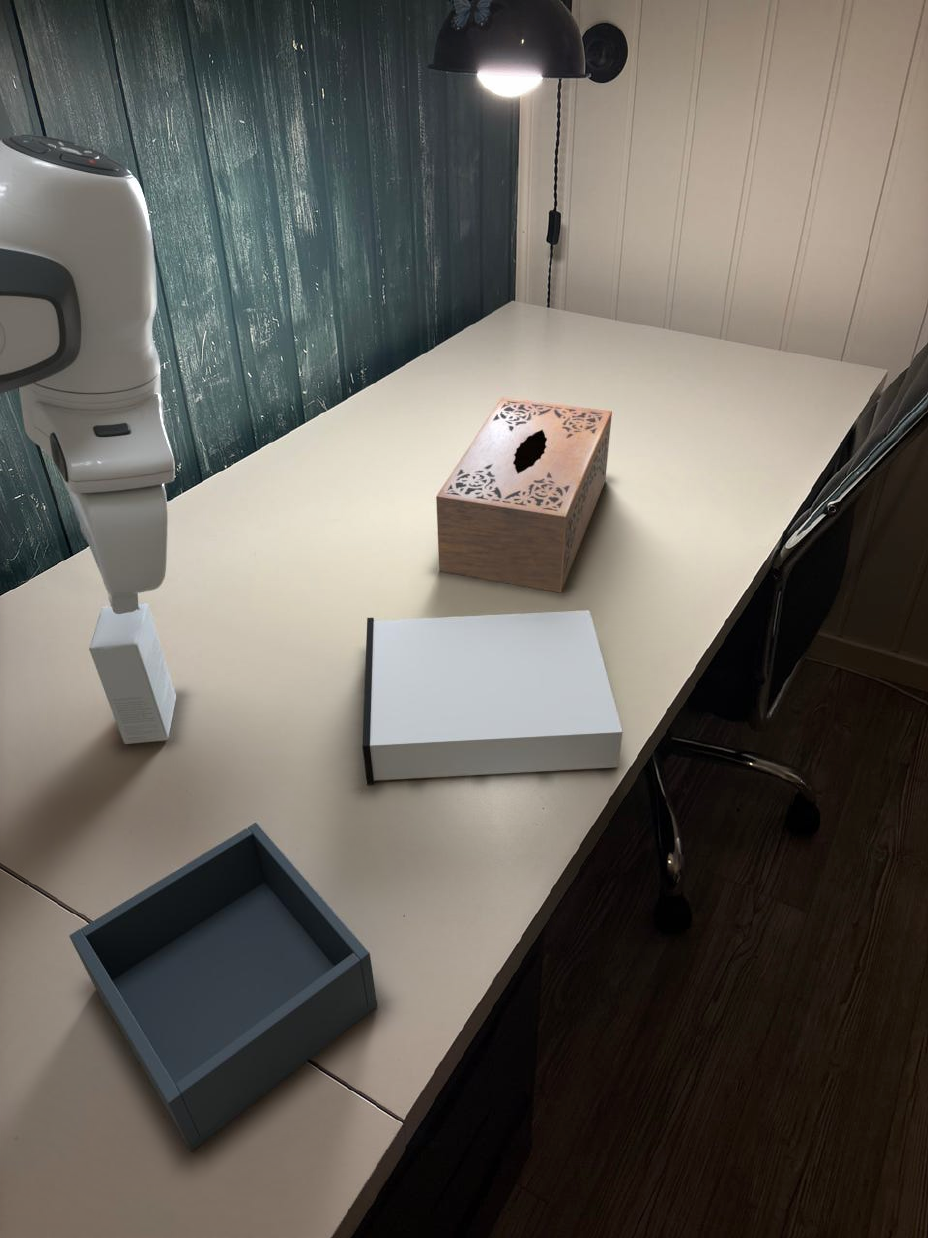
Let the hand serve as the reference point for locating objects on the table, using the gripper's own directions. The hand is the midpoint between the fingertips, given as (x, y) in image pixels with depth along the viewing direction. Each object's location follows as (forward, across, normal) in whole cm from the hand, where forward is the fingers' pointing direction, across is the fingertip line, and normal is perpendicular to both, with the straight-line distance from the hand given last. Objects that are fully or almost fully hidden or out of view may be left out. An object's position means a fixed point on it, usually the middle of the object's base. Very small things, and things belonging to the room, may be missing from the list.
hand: (108, 570), depth 70 cm
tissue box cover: (+15, -16, +52) cm, 57 cm away
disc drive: (+16, +10, +31) cm, 37 cm away
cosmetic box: (+22, -4, +3) cm, 22 cm away
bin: (+19, +27, +1) cm, 33 cm away
